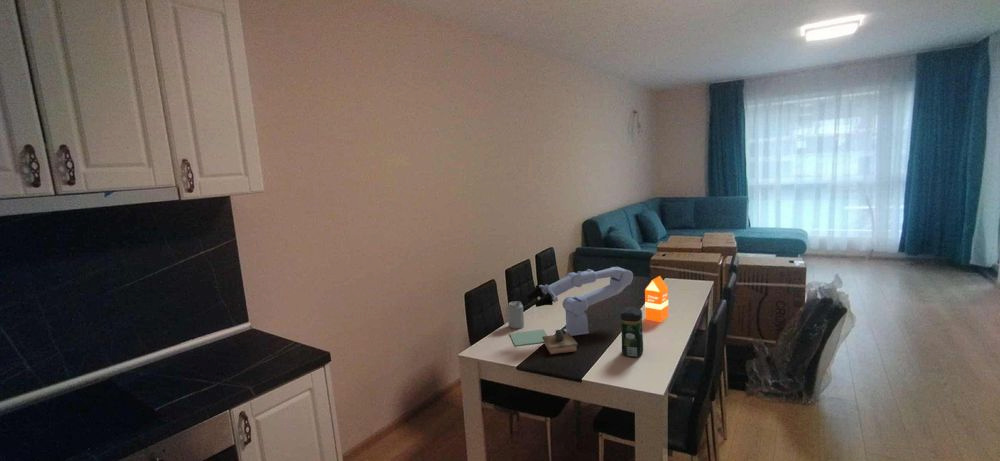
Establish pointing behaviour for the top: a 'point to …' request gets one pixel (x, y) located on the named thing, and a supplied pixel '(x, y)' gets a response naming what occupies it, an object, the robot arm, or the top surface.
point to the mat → (528, 337)
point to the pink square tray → (561, 349)
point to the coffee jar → (632, 332)
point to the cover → (559, 340)
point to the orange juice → (656, 300)
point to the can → (515, 315)
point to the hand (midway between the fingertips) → (531, 301)
